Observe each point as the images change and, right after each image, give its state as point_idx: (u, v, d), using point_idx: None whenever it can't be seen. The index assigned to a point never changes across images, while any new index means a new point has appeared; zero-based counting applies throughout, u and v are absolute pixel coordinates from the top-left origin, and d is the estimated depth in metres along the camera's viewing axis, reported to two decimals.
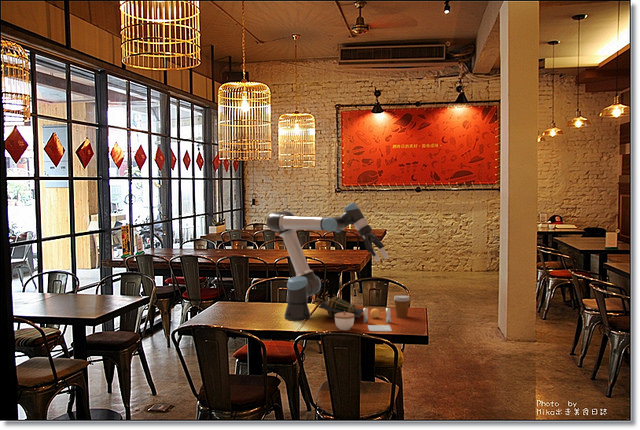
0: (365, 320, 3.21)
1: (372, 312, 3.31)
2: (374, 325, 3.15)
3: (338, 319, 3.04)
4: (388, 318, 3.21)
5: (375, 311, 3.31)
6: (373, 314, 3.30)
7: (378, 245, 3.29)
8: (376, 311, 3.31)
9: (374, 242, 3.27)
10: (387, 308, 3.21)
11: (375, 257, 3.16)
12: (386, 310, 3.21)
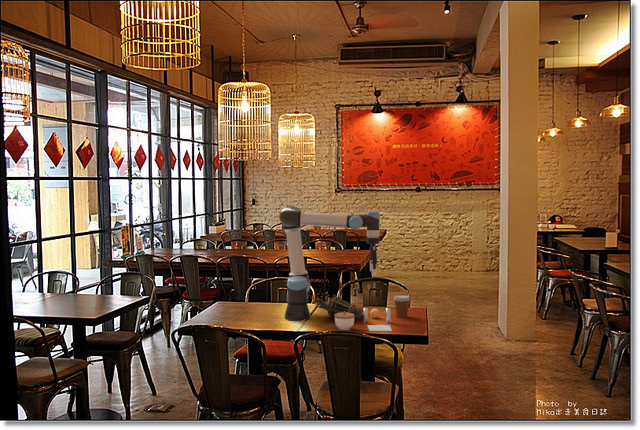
0: (365, 320, 3.21)
1: (372, 312, 3.31)
2: (374, 325, 3.15)
3: (338, 319, 3.04)
4: (388, 318, 3.21)
5: (375, 311, 3.31)
6: (373, 314, 3.30)
7: (372, 257, 3.47)
8: (376, 311, 3.31)
9: (372, 253, 3.45)
10: (387, 308, 3.21)
11: (373, 270, 3.35)
12: (386, 310, 3.21)
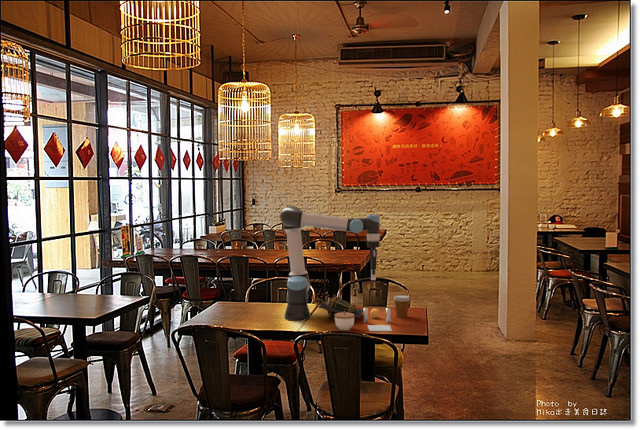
0: (365, 320, 3.21)
1: (372, 312, 3.31)
2: (374, 325, 3.15)
3: (338, 319, 3.04)
4: (388, 318, 3.21)
5: (375, 311, 3.31)
6: (373, 314, 3.30)
7: None
8: (376, 311, 3.31)
9: None
10: (387, 308, 3.21)
11: (373, 276, 3.42)
12: (386, 310, 3.21)
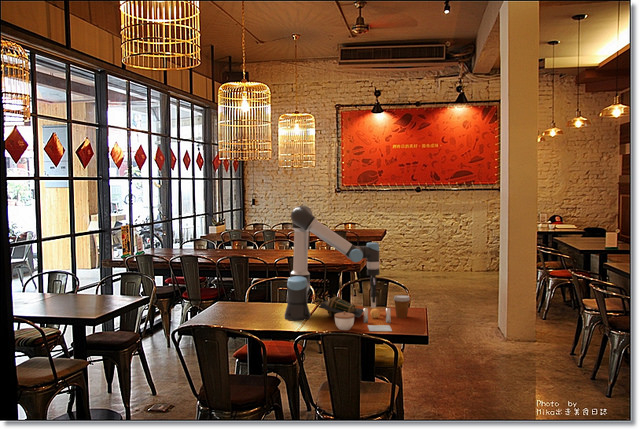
0: (365, 320, 3.21)
1: (372, 312, 3.31)
2: (374, 325, 3.15)
3: (338, 319, 3.04)
4: (388, 318, 3.21)
5: (375, 311, 3.31)
6: (373, 314, 3.30)
7: None
8: (376, 311, 3.31)
9: None
10: (387, 308, 3.21)
11: (373, 303, 3.43)
12: (386, 310, 3.21)
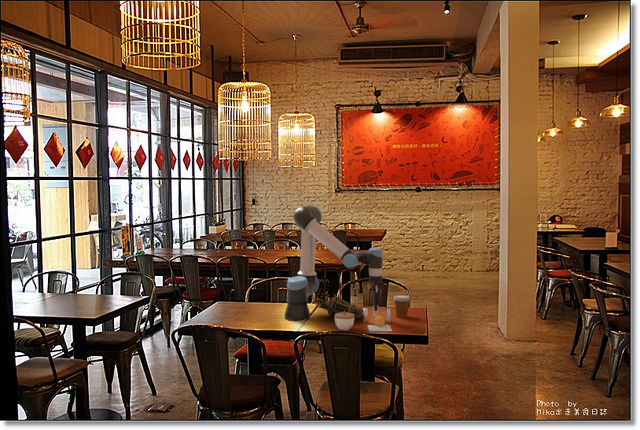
0: (365, 320, 3.21)
1: (377, 320, 3.12)
2: (374, 325, 3.15)
3: (338, 319, 3.04)
4: (388, 318, 3.21)
5: (380, 319, 3.12)
6: (378, 322, 3.12)
7: None
8: (381, 319, 3.12)
9: None
10: (387, 308, 3.21)
11: (375, 312, 3.29)
12: (386, 310, 3.21)
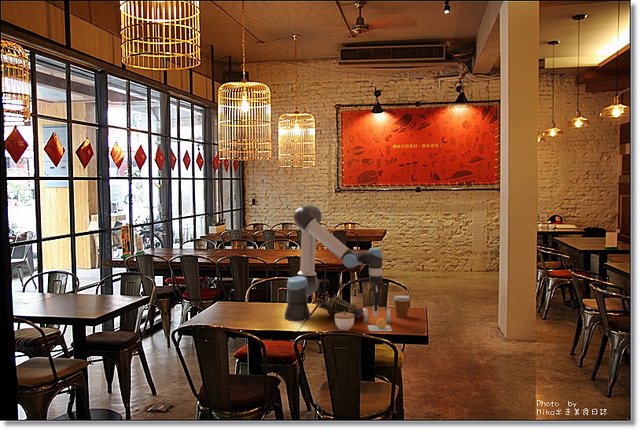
0: (365, 320, 3.21)
1: (378, 327, 3.09)
2: (374, 325, 3.15)
3: (338, 319, 3.04)
4: (388, 318, 3.21)
5: (381, 328, 3.08)
6: None
7: None
8: None
9: None
10: (387, 308, 3.21)
11: (375, 312, 3.29)
12: (386, 310, 3.21)
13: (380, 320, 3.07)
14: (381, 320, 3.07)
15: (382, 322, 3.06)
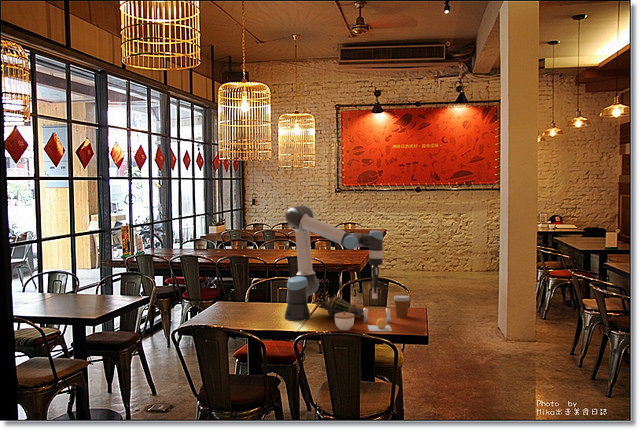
0: (365, 320, 3.21)
1: (378, 327, 3.09)
2: (374, 325, 3.15)
3: (338, 319, 3.04)
4: (388, 318, 3.21)
5: (381, 328, 3.08)
6: None
7: None
8: None
9: None
10: (387, 308, 3.21)
11: (374, 294, 3.29)
12: (386, 310, 3.21)
13: (380, 320, 3.07)
14: (381, 320, 3.07)
15: (382, 322, 3.06)
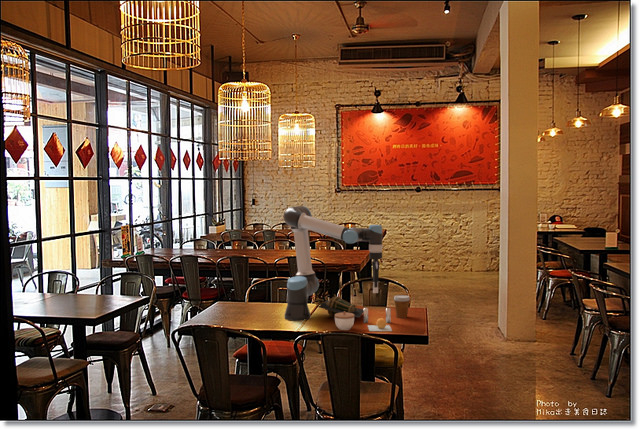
0: (365, 320, 3.21)
1: (378, 327, 3.09)
2: (374, 325, 3.15)
3: (338, 319, 3.04)
4: (388, 318, 3.21)
5: (381, 328, 3.08)
6: None
7: None
8: None
9: None
10: (387, 308, 3.21)
11: (375, 288, 3.28)
12: (386, 310, 3.21)
13: (380, 320, 3.07)
14: (381, 320, 3.07)
15: (382, 322, 3.06)
